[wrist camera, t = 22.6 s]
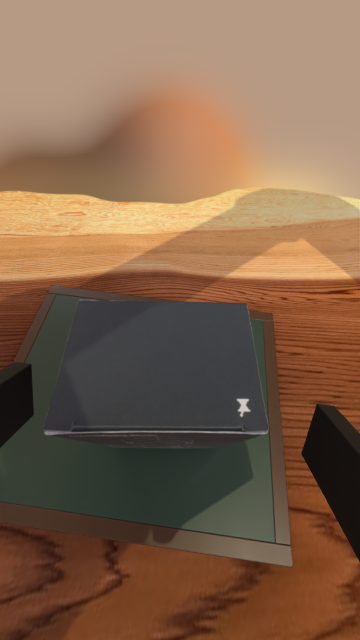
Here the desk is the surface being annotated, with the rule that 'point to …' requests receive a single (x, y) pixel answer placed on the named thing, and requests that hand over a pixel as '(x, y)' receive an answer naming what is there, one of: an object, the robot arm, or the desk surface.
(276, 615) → the desk surface
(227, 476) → the chalkboard
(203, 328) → the box
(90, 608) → the desk surface
